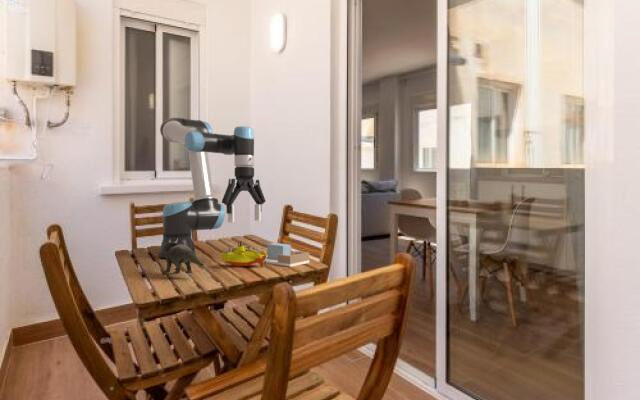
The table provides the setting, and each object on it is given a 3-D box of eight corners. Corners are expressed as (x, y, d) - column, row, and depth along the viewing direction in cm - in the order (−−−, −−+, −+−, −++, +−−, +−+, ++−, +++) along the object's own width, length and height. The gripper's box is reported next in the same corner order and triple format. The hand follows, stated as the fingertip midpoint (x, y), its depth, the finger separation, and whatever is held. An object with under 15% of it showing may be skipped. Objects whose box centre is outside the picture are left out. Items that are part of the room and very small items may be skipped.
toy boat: (262, 268, 143) (262, 242, 142) (218, 267, 146) (217, 241, 146) (268, 265, 149) (268, 240, 149) (225, 264, 153) (225, 239, 152)
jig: (228, 256, 169) (228, 247, 169) (248, 253, 178) (248, 245, 178) (290, 266, 146) (290, 256, 146) (309, 262, 155) (309, 252, 155)
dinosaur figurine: (206, 274, 132) (206, 242, 132) (184, 278, 126) (183, 244, 125) (175, 266, 146) (175, 237, 146) (153, 270, 140) (153, 239, 140)
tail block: (267, 258, 159) (267, 244, 159) (275, 257, 163) (275, 243, 162) (282, 260, 153) (282, 245, 153) (290, 259, 157) (290, 244, 157)
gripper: (224, 164, 137) (225, 223, 137) (273, 168, 156) (274, 220, 157) (211, 165, 141) (212, 222, 141) (260, 169, 161) (261, 219, 161)
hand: (244, 221), depth 149 cm, fingers open, 13 cm apart
